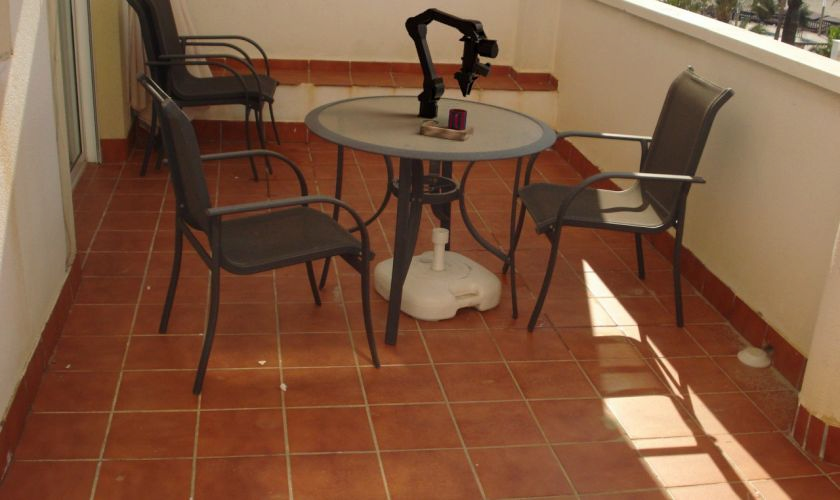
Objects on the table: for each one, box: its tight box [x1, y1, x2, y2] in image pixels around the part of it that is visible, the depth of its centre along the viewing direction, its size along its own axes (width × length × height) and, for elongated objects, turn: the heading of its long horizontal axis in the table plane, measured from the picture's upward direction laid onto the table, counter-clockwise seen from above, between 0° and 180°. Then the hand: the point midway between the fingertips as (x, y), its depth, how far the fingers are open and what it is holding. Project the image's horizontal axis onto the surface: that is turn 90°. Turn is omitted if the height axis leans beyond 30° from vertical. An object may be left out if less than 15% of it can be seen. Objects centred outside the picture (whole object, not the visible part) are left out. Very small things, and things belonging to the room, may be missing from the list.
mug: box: [447, 108, 468, 131], centre depth 344 cm, size 7×10×7 cm
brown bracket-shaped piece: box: [419, 120, 474, 142], centre depth 335 cm, size 17×11×3 cm, turn 71°
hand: (466, 95), depth 351 cm, fingers open, 5 cm apart
